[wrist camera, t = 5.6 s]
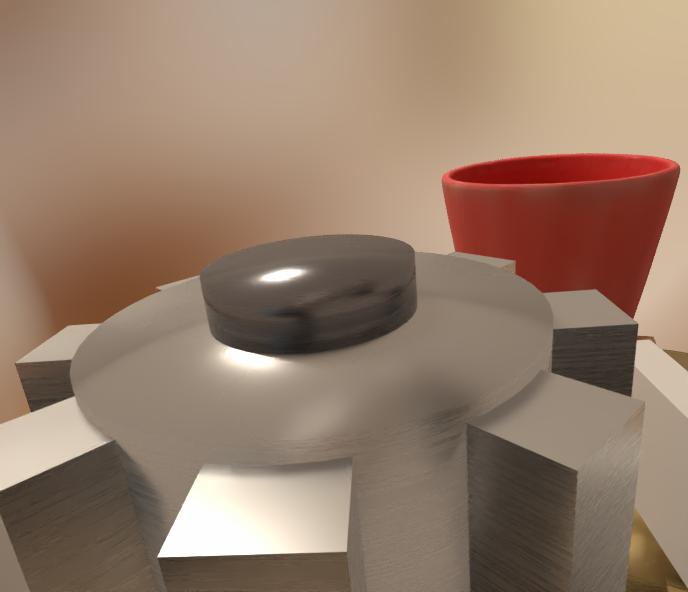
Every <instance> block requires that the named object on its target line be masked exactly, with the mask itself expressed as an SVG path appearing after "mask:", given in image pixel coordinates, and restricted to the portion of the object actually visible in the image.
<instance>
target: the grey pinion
mask: <svg viewBox="0 0 688 592" xmlns="http://www.w3.org/2000/svg"><path fill="white" fill-rule="evenodd" d="M156 291H157V293H155V294H153V295H151V296H148V297H146V298H144V299H142V300H140V301H138V302H136V303H134V304H132V305H130V306H128V307H127V308H125V309H124V310H121V311H120V312H118V313H116V314H115V315H113V316H112V317H111V318H109V319H108V320H106V321H105V322H103V323H102V324H87V325H74V326H67V327H66V328H65V329H63V330H62V331H60V332H59V333H57V334H56V335H55V336H53V337H52V338H50V339H49V340H48V341H46V342H44V343H43V344H42V345H40V346H39V347H37V348H36V349H34V350H33V351H32V352H30V353H29V354H27V355H26V356H24V357H23V358H21V359H20V360H19V361H17V362H16V363H15V365H16V368H17V371H18V374H19V377H20V380H21V383H22V386H23V389H24V392H25V395H26V398H27V401H28V404H29V407H30V410H31V413H29V414H27V415H24V416H21V417H19V418H16V419H14V420H11V421H8V422H6V423H3V424H0V515H1V518H2V520H3V523H4V525H5V528H6V531H7V533H8V536H9V538H10V541H11V544H12V546H13V549H14V551H15V554H16V557H17V559H18V562H19V564H20V567H21V570H22V572H23V575H24V577H25V580H26V583H27V585H28V588H29V591H30V592H626V582H627V573H628V563H629V554H630V544H631V535H632V525H633V516H634V506H635V497H636V487H637V478H638V468H639V459H640V449H641V440H642V430H643V421H644V412H645V401H642V400H639V399H635V398H632V397H631V396H632V386H633V375H634V365H635V354H636V343H637V333H638V323H637V322H636V321H634V320H633V319H632V318H631V317H629V316H628V315H627V314H626V313H625V312H623V311H622V310H621V309H620V308H618V307H617V306H616V305H615V304H613V303H612V302H611V301H610V300H609V299H607V298H606V297H605V296H604V295H602V294H601V293H600V292H599V291H597V290H596V289H594V290H580V291H565V292H551V293H542V292H541V291H540V290H538V289H537V288H536V287H535V286H534V285H533V284H531V283H530V282H528V281H526V280H525V279H523V278H522V277H520V276H518V275H516V274H515V261H513V260H507V259H500V258H493V257H487V256H480V255H474V254H467V253H461V252H453V253H451V254H448V255H440V254H434V253H423V252H415V251H414V249H413V248H412V247H411V246H410V245H409V244H407V243H405V242H402V241H400V240H396V239H392V238H387V237H381V236H372V235H323V236H311V237H302V238H294V239H288V240H282V241H276V242H271V243H267V244H262V245H258V246H254V247H250V248H247V249H243V250H240V251H237V252H234V253H231V254H229V255H226V256H224V257H222V258H219V259H217V260H215V261H214V262H212V263H210V264H209V265H208V266H206V267H205V268H204V269H203V270H202V271H201V274H200V275H198V276H195V277H191V278H188V279H184V280H181V281H177V282H174V283H170V284H167V285H163V286H160V287H156Z"/></svg>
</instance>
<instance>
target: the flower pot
mask: <svg viewBox="0 0 688 592" xmlns="http://www.w3.org/2000/svg"><path fill="white" fill-rule="evenodd" d="M679 174H680V166H679V165H678V163H676V162H674V161H672V160H669V159H664V158H659V157H653V156H643V155H628V154H590V153H588V154H557V155H541V156H529V157H518V158H510V159H502V160H495V161H489V162H483V163H478V164H472V165H468V166H464V167H460V168H457V169H454V170H451V171H449V172H447V173H446V174H444V175H443V177H442V187H443V193H444V198H445V203H446V209H447V214H448V219H449V224H450V228H451V233H452V237H453V243H454V247H455V252H461V253H467V254H474V255H480V256H487V257H493V258H500V259H507V260H513V261H515V274H516V275H518V276H520V277H522V278H523V279H525V280H526V281H528V282H530V283H531V284H533V285H534V286H535V287H536V288H537V289H538V290H540V291H541V292H542V293H551V292H565V291H580V290H594V289H596V290H597V291H599V292H600V293H601V294H602V295H604V296H605V297H606V298H607V299H609V300H610V301H611V302H612V303H613V304H615V305H616V306H617V307H618V308H620V309H621V310H622V311H623V312H625V313H626V314H627V315H628V316H629V317H631V318H632V319H633V318H634V315H635V312H636V309H637V306H638V304H639V301H640V298H641V295H642V292H643V289H644V286H645V283H646V281H647V277H648V274H649V271H650V268H651V265H652V262H653V259H654V256H655V253H656V249H657V246H658V243H659V240H660V237H661V234H662V231H663V227H664V225H665V221H666V218H667V215H668V212H669V209H670V205H671V202H672V199H673V195H674V192H675V189H676V185H677V182H678V178H679Z"/></svg>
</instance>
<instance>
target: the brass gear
mask: <svg viewBox="0 0 688 592" xmlns="http://www.w3.org/2000/svg"><path fill="white" fill-rule="evenodd" d="M637 340H651V341H652V342H653V343H655V340H654V338H653V337H648V336H637ZM655 344H656V343H655ZM663 351H664V352H665V353H666V354H668V355H669V356H670V357H671V358H672V359H674V360H675V361H676V362H677V363H678V364H680V365H681V366H682V367H683V368H684V369H686V370H687V371H688V353H684V352H678V351H671V350H663ZM626 592H688V588H687V587H686V585H685V583H684V582H683V580H682V579H681V577H680V576H679V574H678V573H677V571H676V570H675V568H674V567H673V565H672V563H671V562H670V560H669V559H668V557H667V556H666V554H665V553H664V551H663V550H662V548H661V547H660V545H659V544H658V542H657V540H656V539H655V537H654V536H653V534H652V533H651V531H650V530H649V528H648V527H647V525H646V524H645V522H644V520H643V519H642V517H641V516H640V514H639V513H638V511H637V510H636V508H635V507H634V516H633V525H632V535H631V544H630V554H629V563H628V573H627V582H626Z"/></svg>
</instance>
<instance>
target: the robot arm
mask: <svg viewBox="0 0 688 592" xmlns="http://www.w3.org/2000/svg"><path fill="white" fill-rule="evenodd" d="M631 397H632V398H635V399H639V400H642V401H645V412H644V421H643V430H642V440H641V449H640V459H639V468H638V478H637V487H636V497H635V506H634V507H635V508H636V510H637V511H638V513H639V514H640V516H641V517H642V519H643V520H644V522H645V524H646V525H647V527H648V528H649V530H650V531H651V533H652V534H653V536H654V537H655V539H656V540H657V542H658V544H659V545H660V547H661V548H662V550H663V551H664V553H665V554H666V556H667V557H668V559H669V560H670V562H671V563H672V565H673V567H674V568H675V570H676V571H677V573H678V574H679V576H680V577H681V579H682V580H683V582H684V583H685V585H686V587H687V588H688V371H687V370H686V369H684V368H683V367H682V366H681V365H680V364H678V363H677V362H676V361H675V360H674V359H672V358H671V357H670V356H669V355H668V354H666V353H665V352H664V351H663V350H662V349H660V348H659V347H658V346H657V345H656V344H655V343H653V342H652V341H651V340H637V343H636V354H635V365H634V375H633V386H632V396H631ZM0 592H30V591H29V588H28V585H27V583H26V580H25V577H24V575H23V572H22V570H21V567H20V564H19V562H18V559H17V557H16V554H15V551H14V549H13V546H12V544H11V541H10V538H9V536H8V533H7V531H6V528H5V525H4V523H3V520H2V518H1V515H0Z"/></svg>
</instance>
